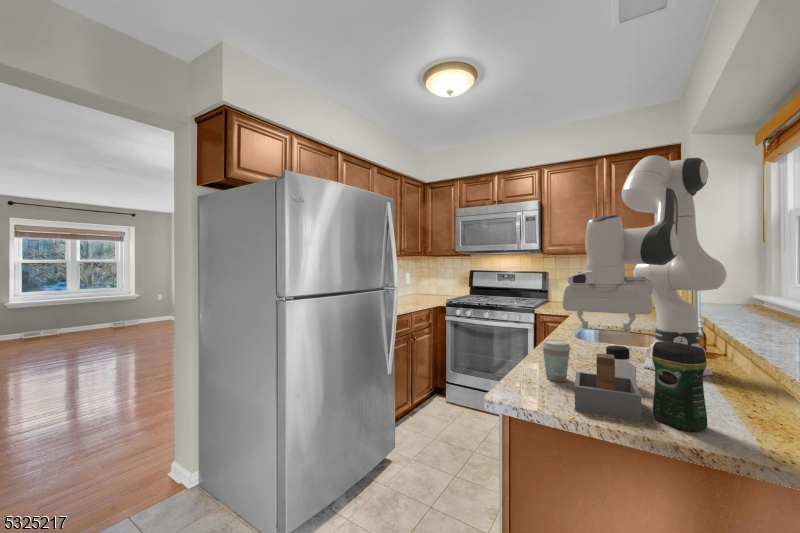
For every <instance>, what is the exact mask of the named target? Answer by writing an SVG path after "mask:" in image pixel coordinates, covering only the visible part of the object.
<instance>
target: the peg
mask: <svg viewBox="0 0 800 533" xmlns="http://www.w3.org/2000/svg"><path fill="white" fill-rule="evenodd" d="M595 358H596V374H597V388H599V389H606V390H613V391H615V357H614V355H609V354H606V353H599V352H598V353H596V357H595Z"/></svg>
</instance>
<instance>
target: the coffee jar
mask: <svg viewBox="0 0 800 533" xmlns="http://www.w3.org/2000/svg"><path fill="white" fill-rule="evenodd" d="M701 347H702V346H701ZM701 347H696V346H691V345H686V344H682V343H676V342H669V341H664V342H656V343H655V344H654V346H653V352H652V360H653V362H654V366H655V370H654V388H653V389H654V390H653V391H654V392H653V399H652V400H653V401H652V416H653V417H654V418H655V420H658V421H660V422H662V423H664V424H667V425H669V426H672V427H674V428H678V429H681V430H684V431H695V432H701V431H703V430H705V429H706V428H708V415H707V414H708V413H707V408H706V407H707V406H706V400H705V398H706V397H705V390H704V376H703V373H704V370H705V368H706V369H707V363H708V362H707V358H706V357H707V356H706V357H705V355H706V350H705V351H704V350H703V349H704V347H702V348H701Z"/></svg>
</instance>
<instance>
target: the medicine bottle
mask: <svg viewBox="0 0 800 533" xmlns="http://www.w3.org/2000/svg"><path fill="white" fill-rule="evenodd" d="M605 354H609V355H614V357H615V376H617V377H625V378H633V379H635V382H636V383H637V379H636V378H637V377H636V375H637V368H636V367H637V366H636V365H634V364H633V363H631V362H630V349H629V347H626V346H624V345H617V344H611V345H607V346H606V347H605Z"/></svg>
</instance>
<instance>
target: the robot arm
mask: <svg viewBox="0 0 800 533" xmlns="http://www.w3.org/2000/svg"><path fill="white" fill-rule="evenodd" d="M708 178H709V167H708V166H707V164H706V161H705V160H704V159H702V158H700V157H687V158H685V159H678V160H671V161H669V159H667V158H666V157H665V156H661V155H658V154H657V155H655V154H654V155H648V156H645V157H643V158H642V159H640V160H639V161H638V162H637V163H636V164H635V165H634V166H633V168H632V169H631V171H630V172H629V173H628V175H627V176H626V178H625V180H624V181H625V182H624V184H623V185H622V189H621V199H622V201H623V203H624V204H625V205H626V206H627V207H628V208H630V209H631V210H633V211H635V212H638V213H646V214H654V224H652V225H649V226H646V227H633V228H632V227H631V228H624V227H623V220H622V217H621V215H618V214H609V215H602V216H595V217H592V218H591V219H589V220H588V221H587V225H586V229H585V239H584V240H585V241H584V242H585V244H584V246H585V247H584V248H585V253H586V262H585V270H584V271H579V272H577V273H573V274H570V275H569V276H568V277H567V282H568V284H567V286H566V287H565V288H564V291H563V297H562V309H563V310H564V311H566V312H576V313H577V314H576V316H577V317H578V319H579V321H580V322H581V328H582V329H585V330H586V329H587V330H588V329H589V321H588V320H585V319H584V317H583V316H584V312H585V313H587V312H588V313H606V314H627V317H628V318H629V319H628V321H627V322H626V323H623V324H622V326H623V327H622V330H623V332H631V330H632V329H631V325H632V324H633V323H634V321H635V320H636V317H637V316H636V315H651V313H653V311H654V307H655V315H656V316H655V318H656V320H655V321H656V327H655V328H654V338H655V340H654V342H652V344H650V346H647V347H646V353H647V354H648V356H646V359H645V361H644V363H643V366H644V367H643V368H645V367H646V368H645V369H648V368H649V369H650V370H654V371H655V366H654V362H653V360H652V352H653V346H654V344H655V343H656V342H664V341H669V342H676V343H682V344H686V345H691V346H696V347H701V348H703V347H702V346H701V345H700V344H699V343H700V338H701V336H700V331H698V311H697V309H696V307H695V306H694V305H693V304H692V303H690V302H688V301H686V300H684V299H682V298H681V297H680V296H679V293H678V291H692V292H693V291H695V292H702V291H704V292H705V291H711V290H717V289H719V288H721V287H722V286H723V285H724V283H725V281H726V280H727V279H726V278H727V270H726V267H725V266H724V265H723V263H722V262H720V261H719V260H718V259H716V258H714V257H712V256H711V255H709V254H708V253H707V252H706V251H705V249H704V248H703V247H702V246H701V243H700V241H699V239H698V233H697V224H696V207H695V201H694V197H695V196H696V195H697V193H698V192H699V191H700V190H702V188H703V189H704V187H705V186H706V184H707V181H708ZM625 265H635V267H634V268H633V276H625V275H626V274H625V270H626V269H625ZM653 304H654V306H653ZM703 350H704V351H705V352H706V349H704V348H703ZM705 357H707V356H706V354H705ZM713 375H714V374H713V371H712V370H709V369H708V368H707V367H706V368H705V370H704V373H703V377H704V376H713Z"/></svg>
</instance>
